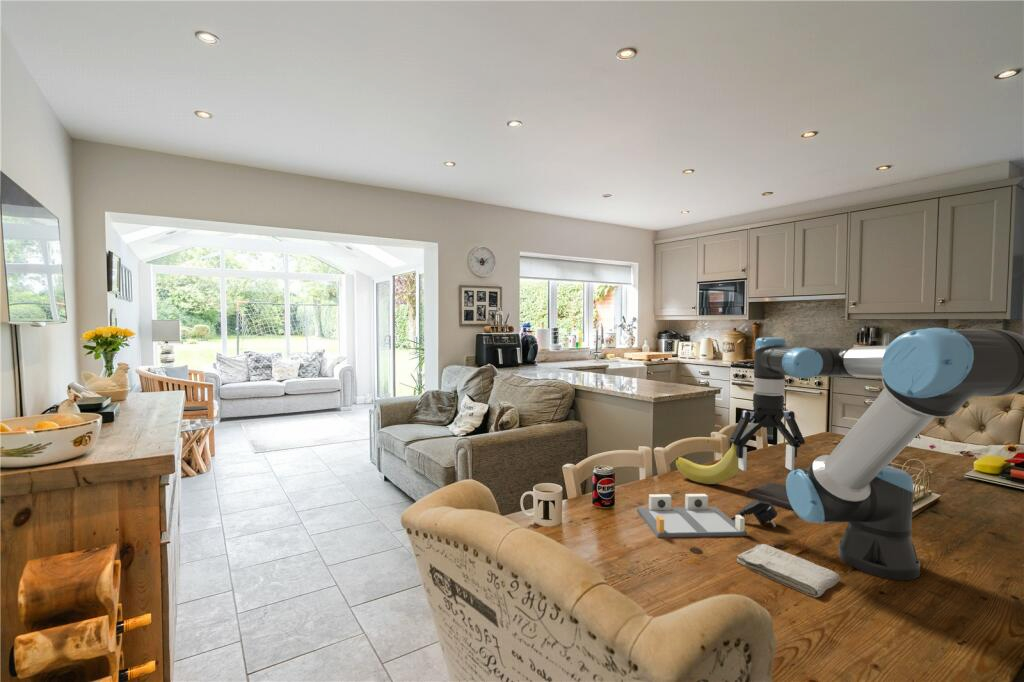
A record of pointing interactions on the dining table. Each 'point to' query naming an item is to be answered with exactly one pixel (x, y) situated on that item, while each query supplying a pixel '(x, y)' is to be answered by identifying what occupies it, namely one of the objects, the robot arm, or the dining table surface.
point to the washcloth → (789, 569)
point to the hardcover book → (771, 495)
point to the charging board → (689, 518)
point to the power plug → (759, 511)
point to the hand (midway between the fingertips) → (765, 469)
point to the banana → (710, 469)
